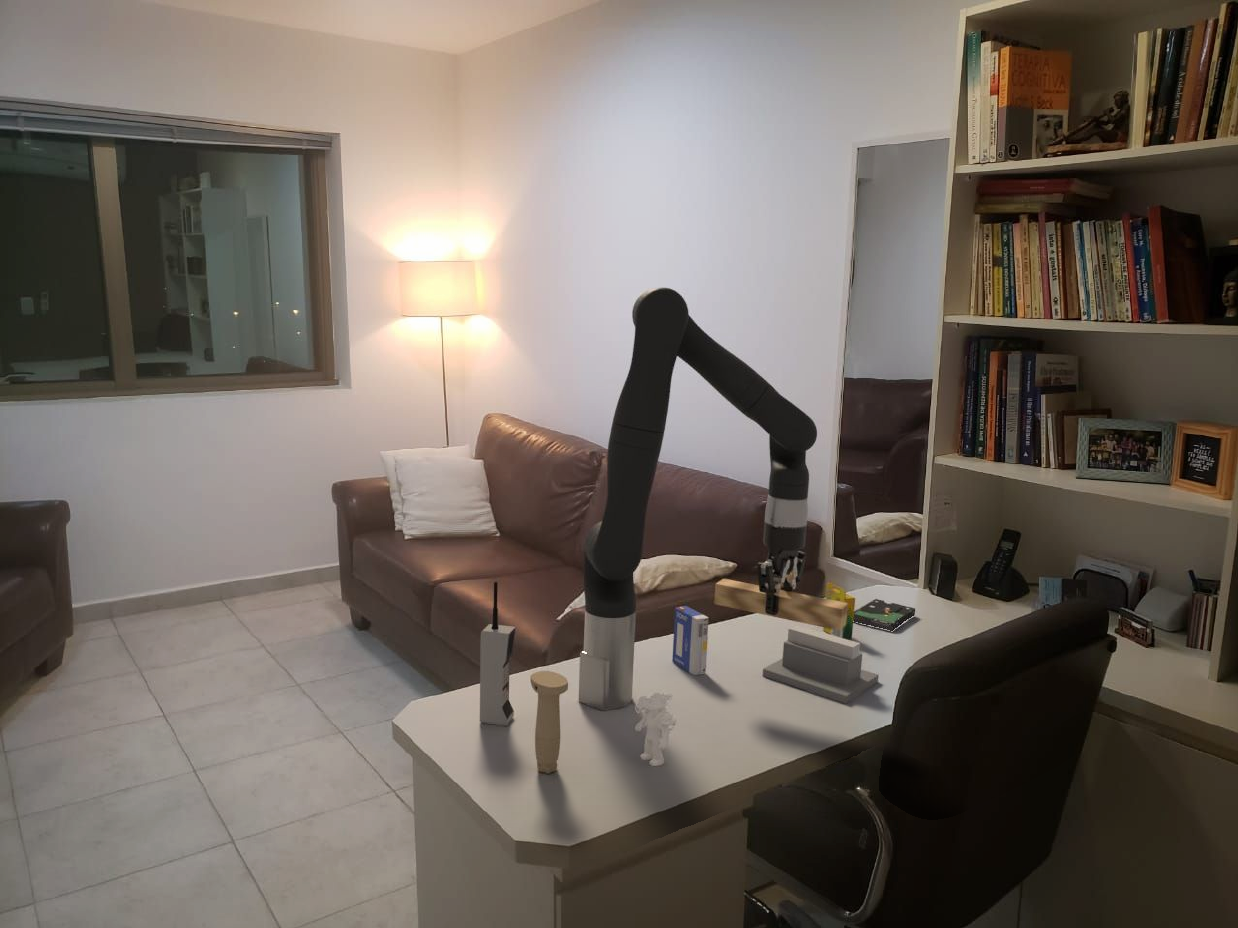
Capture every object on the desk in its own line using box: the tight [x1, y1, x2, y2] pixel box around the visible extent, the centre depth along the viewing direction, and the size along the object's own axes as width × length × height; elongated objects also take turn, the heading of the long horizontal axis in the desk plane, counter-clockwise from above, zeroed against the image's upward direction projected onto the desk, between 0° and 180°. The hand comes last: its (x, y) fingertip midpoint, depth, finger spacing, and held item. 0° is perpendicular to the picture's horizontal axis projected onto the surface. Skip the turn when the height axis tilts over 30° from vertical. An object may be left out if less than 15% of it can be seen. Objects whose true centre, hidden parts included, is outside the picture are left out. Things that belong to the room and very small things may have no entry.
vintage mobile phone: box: [479, 581, 516, 727], centre depth 158 cm, size 4×5×25 cm
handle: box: [530, 670, 569, 774], centre depth 143 cm, size 5×6×15 cm
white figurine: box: [634, 692, 677, 767], centre depth 148 cm, size 9×4×12 cm, turn 33°
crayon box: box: [822, 581, 856, 641], centre depth 207 cm, size 7×3×12 cm, turn 22°
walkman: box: [672, 605, 709, 676], centre depth 185 cm, size 8×3×12 cm, turn 31°
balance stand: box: [762, 624, 879, 704], centre depth 183 cm, size 14×18×9 cm
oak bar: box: [713, 578, 848, 631], centre depth 170 cm, size 24×4×4 cm, turn 61°
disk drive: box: [853, 598, 916, 632], centre depth 220 cm, size 10×3×15 cm
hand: (778, 610), depth 170 cm, fingers closed on oak bar, 4 cm apart
